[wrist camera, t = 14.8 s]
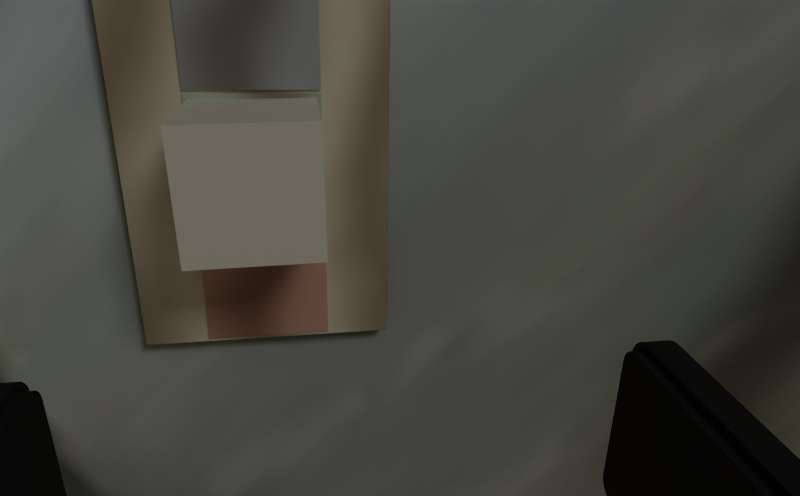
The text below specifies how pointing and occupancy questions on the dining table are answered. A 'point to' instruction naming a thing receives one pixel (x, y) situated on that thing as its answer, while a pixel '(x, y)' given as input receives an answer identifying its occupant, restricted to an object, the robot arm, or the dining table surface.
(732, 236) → the dining table surface
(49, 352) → the dining table surface
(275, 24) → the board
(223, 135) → the cream cube
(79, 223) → the dining table surface
